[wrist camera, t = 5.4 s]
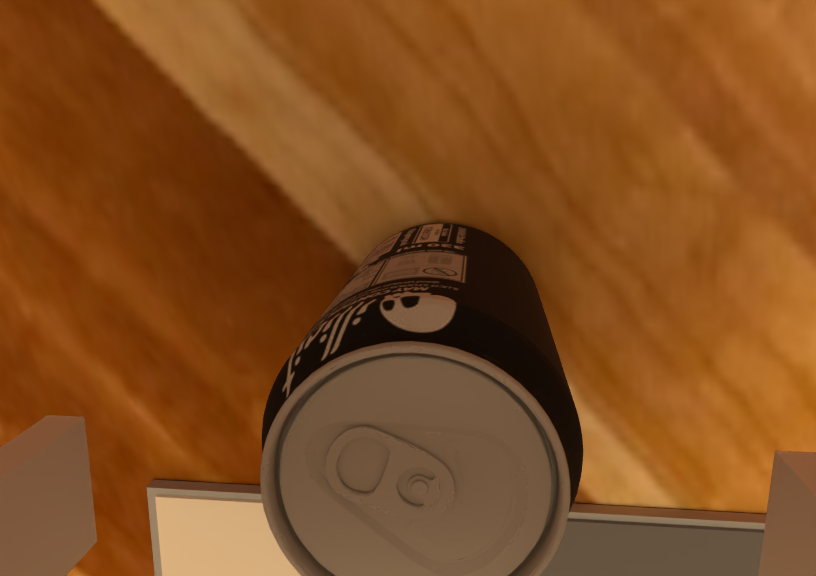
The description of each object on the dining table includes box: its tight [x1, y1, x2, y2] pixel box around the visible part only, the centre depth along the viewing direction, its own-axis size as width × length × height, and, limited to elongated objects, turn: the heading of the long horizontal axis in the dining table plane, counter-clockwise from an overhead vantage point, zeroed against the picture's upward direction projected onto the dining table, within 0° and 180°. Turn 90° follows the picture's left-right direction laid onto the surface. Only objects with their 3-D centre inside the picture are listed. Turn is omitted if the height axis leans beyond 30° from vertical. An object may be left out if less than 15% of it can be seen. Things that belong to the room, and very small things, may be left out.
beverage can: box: [260, 223, 583, 576], centre depth 19 cm, size 7×7×12 cm
